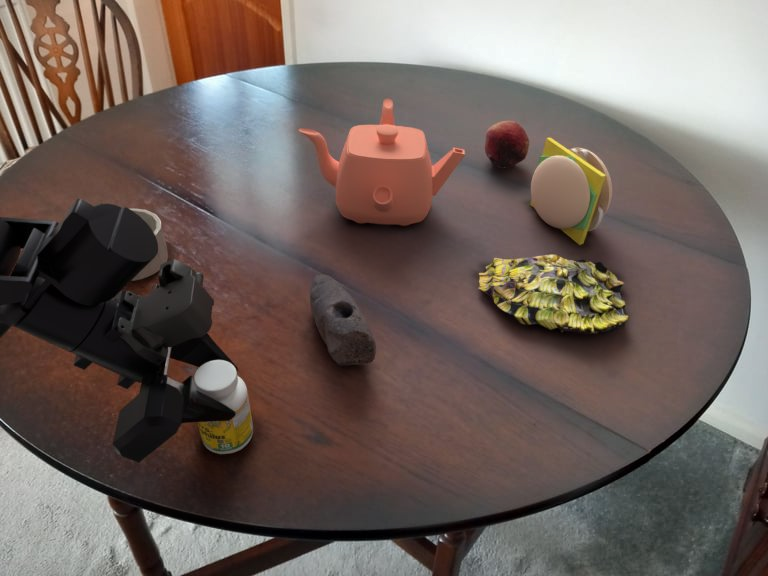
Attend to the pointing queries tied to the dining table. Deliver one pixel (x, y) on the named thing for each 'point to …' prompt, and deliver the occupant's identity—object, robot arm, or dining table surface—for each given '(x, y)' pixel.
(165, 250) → the beige cup
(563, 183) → the hamburger
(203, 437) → the supplement bottle
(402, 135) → the teapot
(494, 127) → the fruit
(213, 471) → the dining table surface
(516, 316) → the scaly yellow mound
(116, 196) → the dining table surface
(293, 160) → the dining table surface
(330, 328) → the perforated stone tool
